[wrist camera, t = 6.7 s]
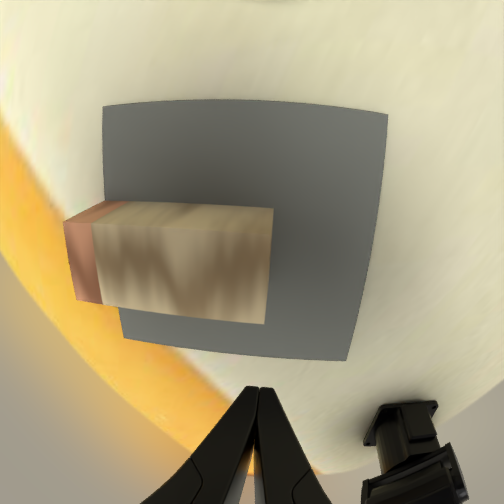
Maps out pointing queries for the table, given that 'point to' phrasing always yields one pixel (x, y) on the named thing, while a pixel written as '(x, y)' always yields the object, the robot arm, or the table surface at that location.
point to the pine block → (173, 258)
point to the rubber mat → (266, 196)
